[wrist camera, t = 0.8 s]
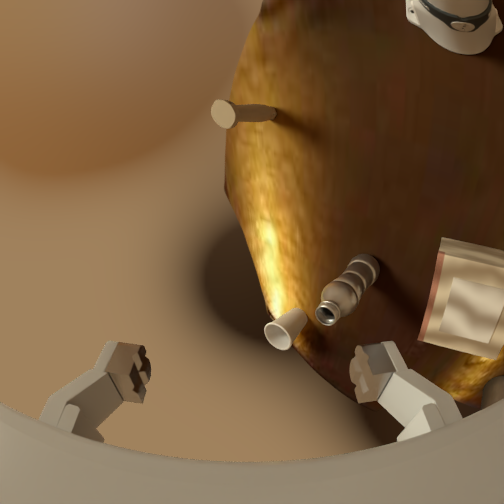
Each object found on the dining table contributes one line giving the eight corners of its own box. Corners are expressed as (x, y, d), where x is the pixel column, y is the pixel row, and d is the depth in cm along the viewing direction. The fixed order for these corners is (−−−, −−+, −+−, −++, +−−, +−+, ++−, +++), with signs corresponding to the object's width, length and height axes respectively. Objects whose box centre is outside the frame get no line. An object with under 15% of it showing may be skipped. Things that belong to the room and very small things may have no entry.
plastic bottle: (375, 284, 56) (336, 339, 43) (349, 269, 59) (303, 318, 46) (387, 259, 52) (350, 312, 39) (359, 245, 56) (313, 290, 42)
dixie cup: (282, 302, 77) (260, 321, 70) (307, 304, 71) (285, 324, 65) (290, 328, 79) (269, 347, 72) (314, 330, 73) (294, 352, 66)
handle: (276, 129, 58) (228, 133, 48) (257, 114, 59) (208, 115, 49) (286, 112, 55) (238, 111, 44) (266, 97, 56) (217, 94, 46)
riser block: (441, 236, 43) (437, 253, 37) (522, 255, 32) (530, 275, 26) (424, 317, 50) (417, 340, 45) (495, 334, 39) (495, 361, 33)
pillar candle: (476, 389, 44) (466, 439, 34) (504, 368, 38) (500, 420, 28) (495, 405, 41) (486, 453, 31) (522, 386, 34) (519, 436, 24)
